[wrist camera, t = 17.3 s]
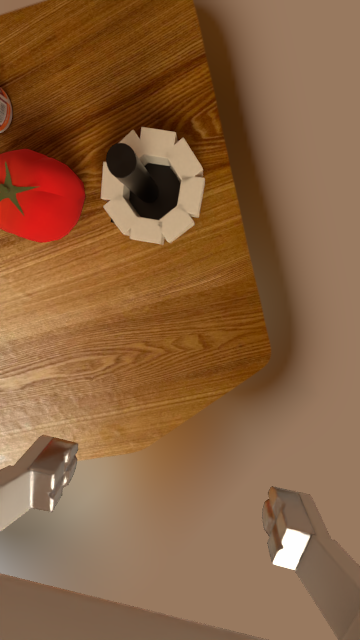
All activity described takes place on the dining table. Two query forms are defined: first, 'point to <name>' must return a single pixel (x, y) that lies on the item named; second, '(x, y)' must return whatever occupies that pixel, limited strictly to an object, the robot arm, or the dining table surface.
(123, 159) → the post
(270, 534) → the robot arm
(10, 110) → the pill bottle
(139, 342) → the dining table surface
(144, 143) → the ring
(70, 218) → the tomato
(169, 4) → the dining table surface
